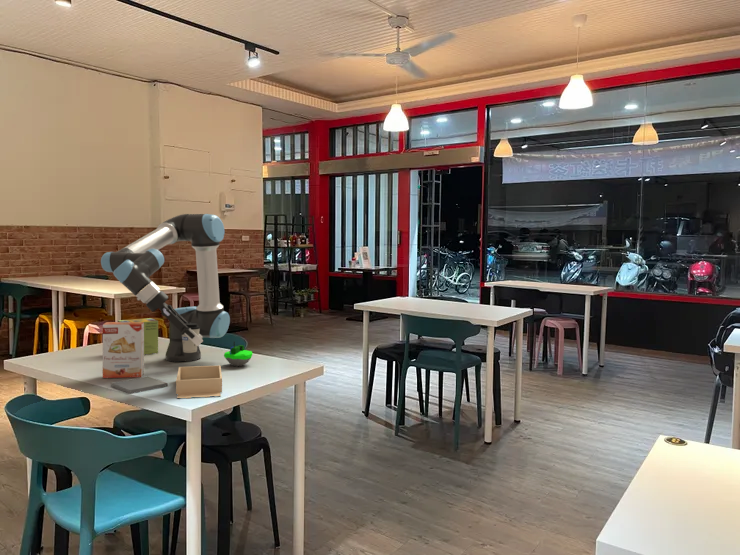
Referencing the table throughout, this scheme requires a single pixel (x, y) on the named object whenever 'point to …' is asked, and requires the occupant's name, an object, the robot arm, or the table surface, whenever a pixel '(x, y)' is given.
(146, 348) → the protein box
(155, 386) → the slate board
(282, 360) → the table surface
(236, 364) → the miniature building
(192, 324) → the coffee cup
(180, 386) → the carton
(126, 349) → the cracker box
